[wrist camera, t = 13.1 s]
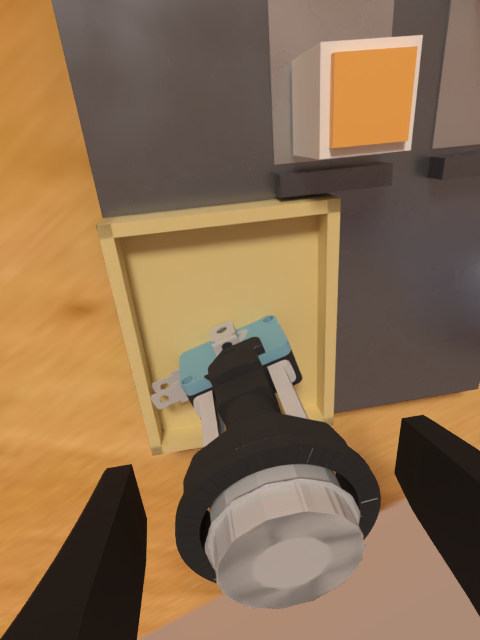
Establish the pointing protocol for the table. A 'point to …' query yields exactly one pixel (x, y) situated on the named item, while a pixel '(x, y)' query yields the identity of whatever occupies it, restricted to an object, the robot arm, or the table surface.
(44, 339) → the table surface
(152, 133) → the breaker panel
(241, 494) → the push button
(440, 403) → the table surface
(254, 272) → the tray
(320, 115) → the breaker
